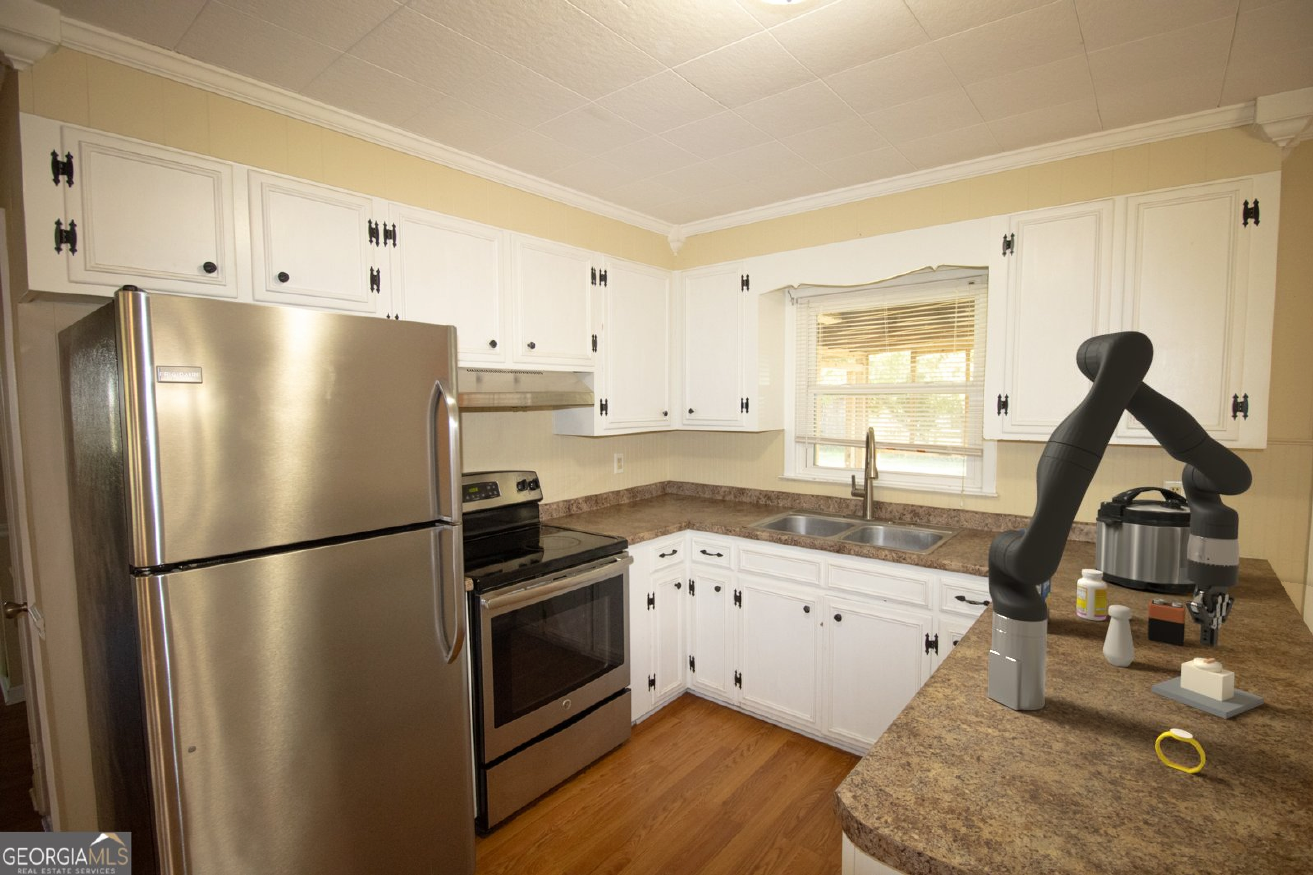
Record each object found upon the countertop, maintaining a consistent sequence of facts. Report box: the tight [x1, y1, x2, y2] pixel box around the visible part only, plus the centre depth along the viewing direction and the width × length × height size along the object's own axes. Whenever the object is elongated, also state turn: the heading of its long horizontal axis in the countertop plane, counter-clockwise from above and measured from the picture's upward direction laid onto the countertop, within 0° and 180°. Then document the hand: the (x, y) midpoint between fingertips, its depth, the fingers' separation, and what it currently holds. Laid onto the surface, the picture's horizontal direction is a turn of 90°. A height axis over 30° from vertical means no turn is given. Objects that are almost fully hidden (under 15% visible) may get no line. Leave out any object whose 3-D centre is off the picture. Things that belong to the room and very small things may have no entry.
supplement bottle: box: [1076, 568, 1108, 622], centre depth 167 cm, size 7×7×13 cm
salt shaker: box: [1102, 604, 1136, 668], centre depth 137 cm, size 6×6×13 cm
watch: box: [1154, 728, 1206, 775], centre depth 98 cm, size 6×3×6 cm, turn 41°
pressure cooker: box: [1094, 486, 1196, 594], centre depth 199 cm, size 30×28×32 cm
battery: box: [1147, 597, 1187, 647], centre depth 150 cm, size 4×7×10 cm, turn 48°
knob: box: [1180, 657, 1236, 701], centre depth 121 cm, size 4×7×6 cm
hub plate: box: [1150, 675, 1265, 720], centre depth 121 cm, size 14×12×5 cm
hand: (1208, 645), depth 121 cm, fingers closed
